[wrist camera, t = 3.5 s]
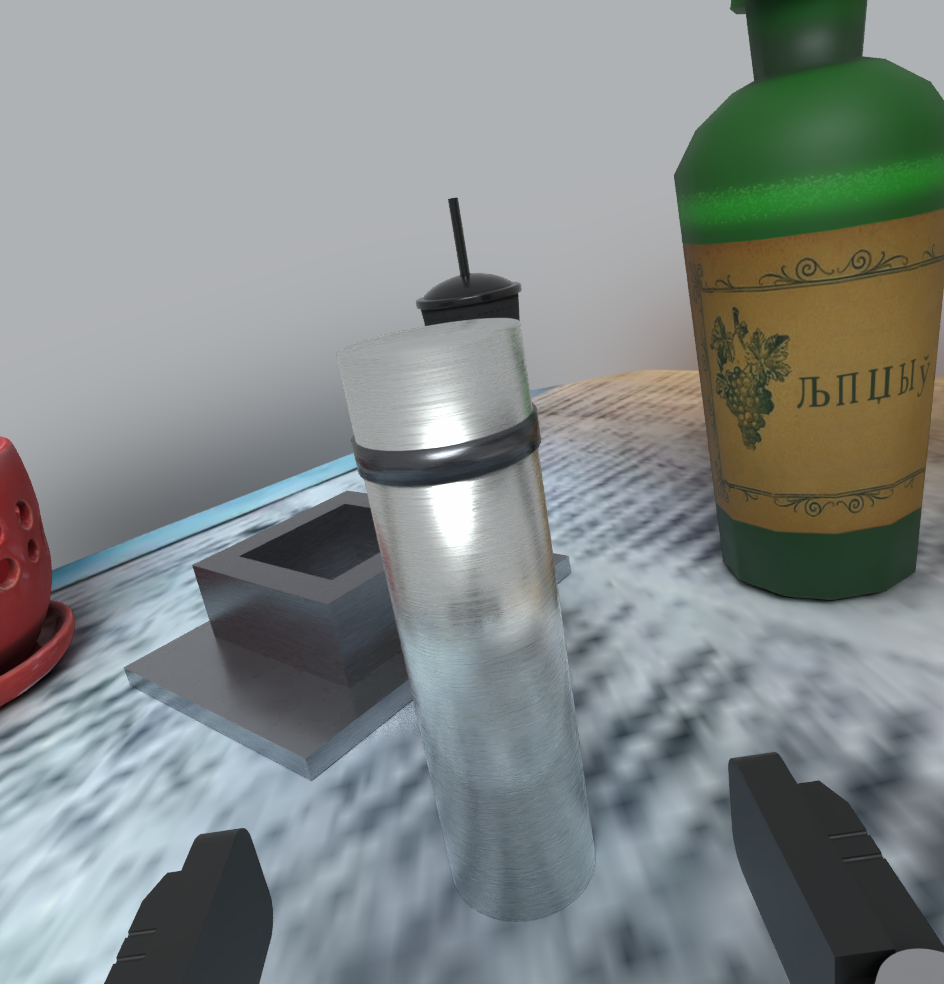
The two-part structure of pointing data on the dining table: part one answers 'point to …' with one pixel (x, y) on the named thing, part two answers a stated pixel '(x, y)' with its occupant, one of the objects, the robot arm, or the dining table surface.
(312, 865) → the dining table surface
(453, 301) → the drinking cup
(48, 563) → the plant pot
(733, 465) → the bottle
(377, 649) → the collar
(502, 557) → the steel tube
